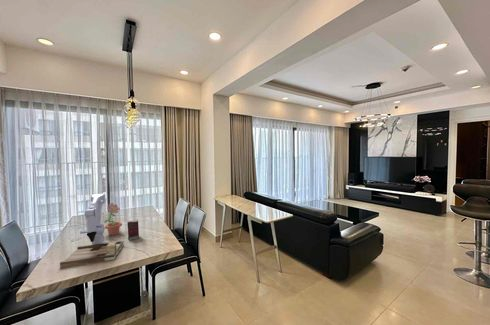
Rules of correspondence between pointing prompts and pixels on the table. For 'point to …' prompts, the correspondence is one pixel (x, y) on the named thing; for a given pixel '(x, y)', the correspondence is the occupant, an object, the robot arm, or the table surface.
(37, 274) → the table surface
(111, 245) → the block
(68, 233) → the table surface
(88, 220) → the robot arm
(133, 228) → the supplement box
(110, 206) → the decorative flower
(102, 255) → the trap box
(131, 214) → the table surface
